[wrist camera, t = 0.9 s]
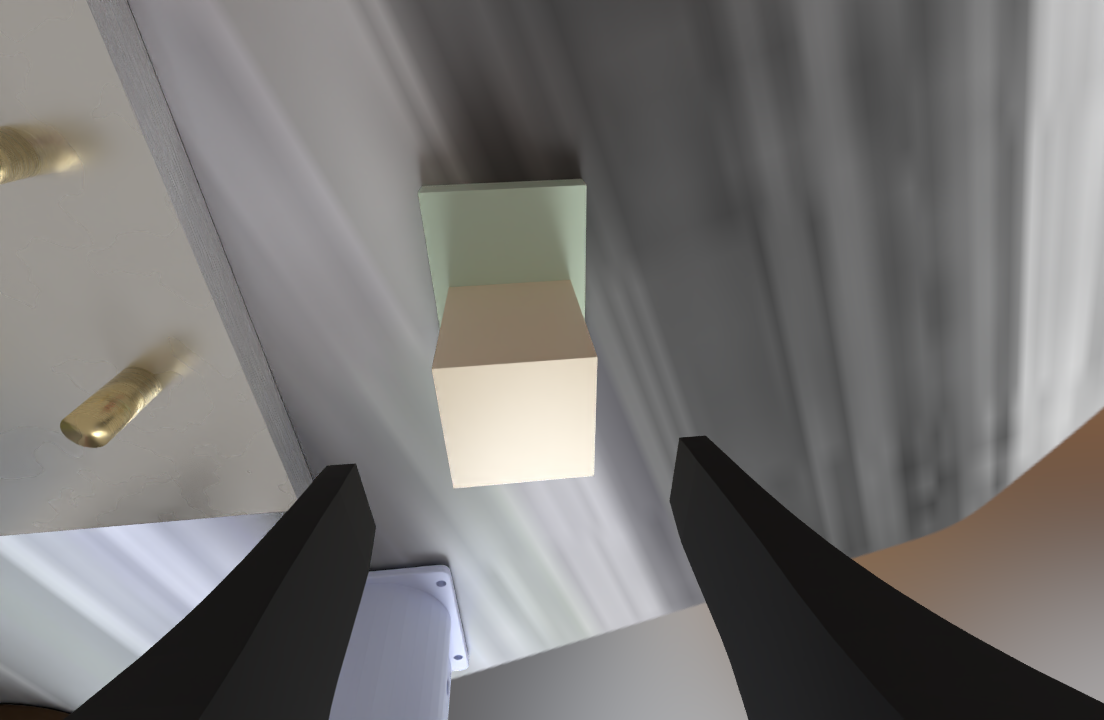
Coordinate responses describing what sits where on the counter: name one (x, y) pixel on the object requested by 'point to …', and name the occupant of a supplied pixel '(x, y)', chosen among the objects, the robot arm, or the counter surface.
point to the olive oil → (29, 713)
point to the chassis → (118, 298)
